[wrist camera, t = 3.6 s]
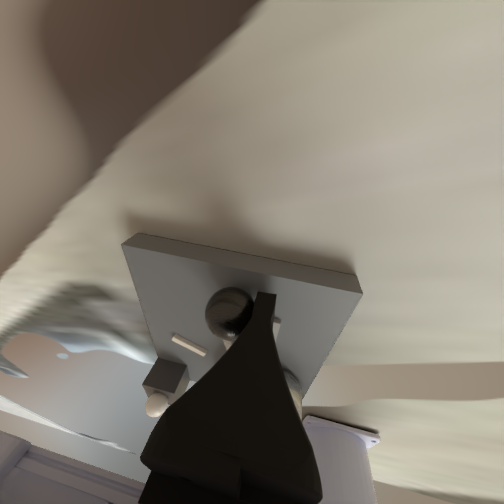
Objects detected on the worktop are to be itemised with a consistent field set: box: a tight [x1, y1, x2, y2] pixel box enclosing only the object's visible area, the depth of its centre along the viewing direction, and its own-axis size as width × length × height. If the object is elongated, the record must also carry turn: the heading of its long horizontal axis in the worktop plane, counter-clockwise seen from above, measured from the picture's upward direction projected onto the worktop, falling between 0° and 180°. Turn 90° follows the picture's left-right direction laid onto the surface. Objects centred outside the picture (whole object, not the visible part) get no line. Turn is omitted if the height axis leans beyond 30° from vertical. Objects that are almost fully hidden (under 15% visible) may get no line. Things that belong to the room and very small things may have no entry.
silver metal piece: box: [205, 287, 302, 421], centre depth 14 cm, size 15×7×3 cm, turn 9°
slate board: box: [121, 233, 363, 399], centre depth 16 cm, size 16×14×2 cm
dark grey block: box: [142, 358, 190, 417], centre depth 19 cm, size 3×3×4 cm
